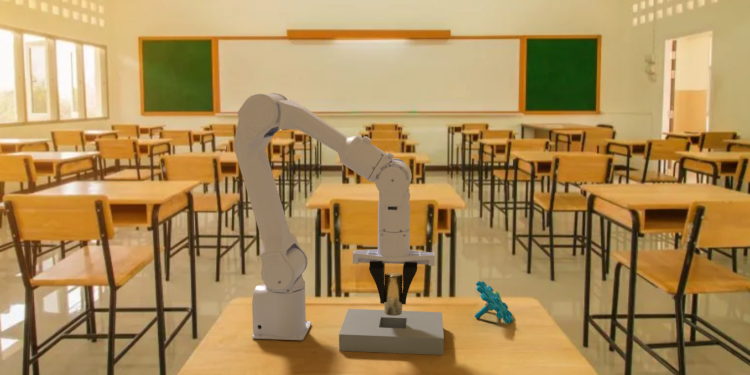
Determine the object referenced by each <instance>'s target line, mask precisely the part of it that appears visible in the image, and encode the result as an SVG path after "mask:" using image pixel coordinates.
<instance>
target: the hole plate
mask: <svg viewBox="0 0 750 375" xmlns="http://www.w3.org/2000/svg"><path fill="white" fill-rule="evenodd" d="M443 322H444V320H443V311H418V310H417V311H416V310H402V314H400V315H396V316H391V315H387V314H385V313H384V309H368V308H367V309H366V308H359V309H358V308H348V309H347V312H346V313H345V317H344V320H343V322H342V324H341V329H340V331H339V332H338V333H339V334H338V350H339V352H340V351H342V352H361V353H362V352H363V353H365V352H367V353H387V354H405V355H406V354H409V355H410V354H411V355H431V356H432V355H433V356H434V355H435V356H444V346H445V345H444V344H445V341H444V340H445V338H444V323H443Z"/></svg>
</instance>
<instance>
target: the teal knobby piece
mask: <svg viewBox="0 0 750 375" xmlns="http://www.w3.org/2000/svg"><path fill="white" fill-rule="evenodd" d="M475 285H476V291H477V292H478V293H479V294H480V295H479V296H480V298H481V300H482V301H484V302H485V303H484V305H483V306H482V307H481V309H480V310H479V311H478V312H476V313H475V314H474V318H476V319H477V320H479V319H480V318H481V317H482V316H484V315H485V314H486V313H487V312H488V311H490V312H491V311H493V310H494V311H495V312H496V313H495V315H496V317H497V318H498V319H499V320H503V322H504V323H505V324H506V325H508V324H511V323H512V322H513V321H514V318H513V316H514V315H513V313H512V312H511V310H509V306H508V304H507V303H505V302H503V300H502V297H501V296H500V295H501V294H500V293H499V292H498V291H497V290H496V291H495V292H493V291H494V289H493V287H491V285H488V284H487V283H486V282H485V281H484V280H482V281H480V280H478V281H477V282H476V283H475Z"/></svg>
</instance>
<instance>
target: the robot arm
mask: <svg viewBox="0 0 750 375" xmlns="http://www.w3.org/2000/svg"><path fill="white" fill-rule="evenodd" d="M236 113H237V118H238V121H237V127H236V131H235V135H234V140H233V150H234V154H235V156H236V159H237V162H238V166H239V170H240V172H241V176H242V179H243V180H242V181H243V182H244V187H245V189H246V192H247V195H248V200H249V202H250V205H251V208H252V212H253V216H254V218H255V222H256V225H257V228H258V232H259V235H260V238H261V246H260V253H259V254H260V255H259V256H260V259H261V272H260V276H261V277H260V278H261V280H262V283H263V284H258V285H256V286H255V288H254V290H253V295H252V300H251V301H252V304H251V308H252V309H251V310H252V335H251V337H252V339H255V340H256V339H258V340H260V339H261V340H281V341H282V340H283V341H285V340H286V341H287V340H288V341H303V340H304V339H305V337H306V335H307V333H308V331H309V329H310V327H311V325H312V322H311V321H310V320H306V319H307V318H306V314H307V313H306V282H305V279H304V278H303V274H304V273H305V271H306V269H307V267H308V262H309V261H308V257H307V256H308V255H307V254H306V252H305V251H304V250H303V248H301V246H300V245H299V242H298V239H297V237H296V236H295V235H294V233H292V232H291V230H290V227H289V225H288V221H287V217H286V214H285V211H284V208H283V205H282V202H281V201H282V200H281V197H280V194H279V191H278V187H277V184H276V181H275V176H274V173H273V171H272V168H271V164H270V161H269V157H268V154H267V151H266V149H267V147H268V146H269V144H270V142H271V140H272V139H273V138H274V135H276V133H278V132H279V131H280V130H296V131H297V130H299V131H300V132H302V133H303V134H306V135H307V136H309V137H311V138H312V139H313V140H315V141H318V143H319V142H320V143H321V144H322V145H324V146H326V147H328V148H329V149H331V150H332V151H335V152H336V153H337V155H338V157H339V161H340V164H342V165H343V166H345V167H346V168H348V169H350V170H351V171H353V172H355V173H356V174H357V175H359V176H361V177H362V178H364V179H365V180H366V181H369V182H370V183H374V184H375V187H376V189H377V190H378V203H377V248H376V249H364V250H361V249H360V250H359V249H358V250H353V252H352V264H355V265H357V264H360V263H361V264H362V263H364V264H369V267H368V270H369V274H371V276H372V278H373V279H372V280H373V281H374V283H375V285H376V289H377V291H378V297H379V303H380V305H381V304H382V305H383V304H384V305H385V272H386V271H385V266H386V265H385V264H391V265H392V264H395V265H400V264H401V265H402V275H403V276H402V305H406V304H407V298H408V292H409V289H410V287H411V284H412V282H413V279H414V277H415V275H416V273H417V272H418V265H426V266H427V265H428V266H430V267H433V266H435V263H436V260H435V257H436V254H435V252H434V251H433V252H431V251H421V250H413V249H411V202H410V199H411V193H410V185H411V182H412V177H413V176H412V175H413V174H412V170H411V168H410V166H409V165H408V164H407V163H406V162H405V161H404V160H403V159H401V158H394V157H395V154H394V153H392V152H389V153H387V152H385V151H384V150H382V149H381V148H379V147H377V146H376V145H375V144H373V143H371V142H372V138H369V137H368V136H363V137H362V136H360V135H359V134H358V135H353V136H349V137H348V136H347V135H345V134H344V133H343V132H341V131H340V130H339V129H336V128H335V127H334V126H332V125H331V124H329V123H328V122H327V121H326V120H324V119H323V118H321V117H320V116H318V115H317V114H315V113H313V112H312V111H311V110H309V109H308V108H307V107H305V106H303V105H302V104H300V103H299V102H297V101H295V100H292V99H288V98H287V97H286V96H284V94H281V93H277V92H276V93H275V92H274V93H273V92H272V93H269V94H267V93H254V94H252V95H250V96H249V97H247V98H246V99H245V101H244V102H243V103H242V105H241V106H240V108H239V109H238V111H237V112H236Z"/></svg>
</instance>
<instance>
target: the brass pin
mask: <svg viewBox="0 0 750 375" xmlns="http://www.w3.org/2000/svg"><path fill="white" fill-rule="evenodd" d="M384 285H385V302H384V306H383V307H384V309H383V310H384V313H385V314H387V315H391V316H396V315H400V314H402V311H403V304H402V293H403V273H400V272H393V271H392V272H386V273H384Z"/></svg>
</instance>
